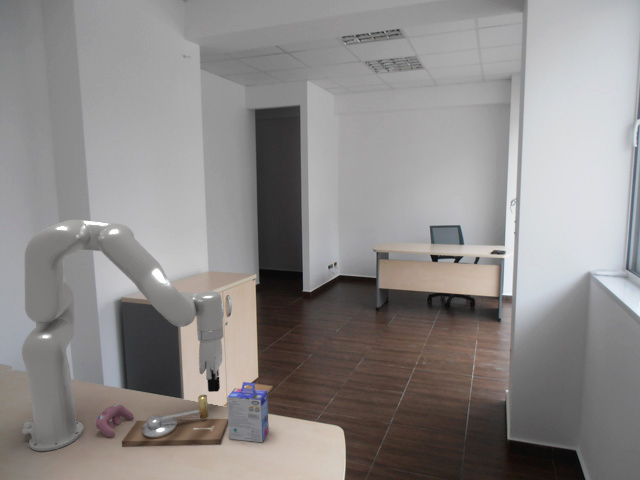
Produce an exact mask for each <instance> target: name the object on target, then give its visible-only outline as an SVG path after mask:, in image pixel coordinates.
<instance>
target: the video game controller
mask: <svg viewBox="0 0 640 480" xmlns="http://www.w3.org/2000/svg"><path fill="white" fill-rule="evenodd" d="M121 417H122V418H123V419H125V420H127V421H133V419H134V414H133V413H132V412H131V411H130V410H128V408H126V407H125V406H124V405H122V404H119V403H116V404H114V405H110V406H108V407H107V408H105V409H104V410H103V411H102V412H101V413H100V415H99V416H98V417H97V418H96V420H95V427H96V429H98V430H99V431H100V432H101V433H102V434H103V435H104V436H106V437H107V438H114V437H115V435H116V434H115V433H116V432H115V431H114V428H115V427H114V426H117V425H119V424H121V422H122V418H121ZM110 420H111V421H110Z"/></svg>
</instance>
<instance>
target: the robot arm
mask: <svg viewBox="0 0 640 480" xmlns="http://www.w3.org/2000/svg"><path fill="white" fill-rule="evenodd" d="M80 250H82V251H96V252H101V253H102V254H103V255H104V256H105V257H106V258H107V259H108V261H110V262H111V263H112V264H113V265H114V266H116V268H117V269H118V270H120V272H121V273H123V274H124V275H125V276H126V278H128V279H129V280H130V281H131V282H132V283H133V284H134V286H135V287H136V288H137V290H138V291H139V292H140V293H141V294H142V295H143V296H144V298H145V299H146V300H147V301H148V302H149V304H151V305H152V307H153V308H154V309H155V310H156V311H157V312H158V313H159V314H160V315H161V316H163V318H164V319H166V320H167V321H168V322H169V323H170V324H172V325H173V326H175V327H179V328H184V327H188V326H190V325H191V324H193V322H194V321H195V319H196V331H197V340H198V341H199V346H198V349H199V351H198V359H199V360H198V362H199V363H198V364H199V365H198V366H199V367H198V368H199V374H200V375H203V374H204V373H205V376H206V377H205V379H206V380H207V381H206V382H207V391H208V392H213V393H214V392H215V393H216V392H217V393H218V392H219V390H220V389H221V388H220V387H221V386H220V385H221V384H220V367H221V364H222V362H223V345H222V343H223V342H222V339H223V338H224V323H223V322H224V321H223V320H224V319H223V303H222V302H223V301H222V296H221V293H220V292H218V291H213V290H207V291H201V292H186V291H185V292H179V290H178V289H177V288H176V287H175V286H174V285H173V284H172V282H171V281H170V279H169V278H168V277H167V274H166V273H165V270H164V269H163V266H162V265H161V264H160V262H158V260H157V259H156V258H155V257H154V256H153V255H152V254H150V253H149V251H148V250H146V248H145V247H144V246H143V245H142V244H141V243H140V242H139V241H138V240H137V239H136V238H135V236H134V233H133V231H132V229H131V228H130V227H129V226H127V225H125V224H123V223H115V222H114V223H113V222H102V221H92V220H86V219H85V220H83V219H68V220H64V221H62V222H58V223H55V224H53V225H50V226H48V227H46V228H44V229H43V230H40V231H39V232H37V233H35V234H34V235H33V237H32V238H31V239H30V240H29V241H28V244H27V245H26V247H25V251H24V310H25V313H26V316H27V317H28V319H30V320H31V321H32V322H34V323H35V328H34V329H33V330H32V331H30V333H29V334H27V336H26V338H25V339H24V341H23V344H22V347H21V356H22V360H23V364H24V368H25V371H26V374H27V381H28V389H29V394H30V402H31V409H32V418H33V419H32V420H33V421H25V422H24V424H23V428H22V430H21V434H23V435H27V434H30V435H31V437H30V439H29V442H28V443H29V447H30V449H31V450H34V451H36V452H49V451H53V450H56V449H60V448H63V447H65V446H68V445H70V444H72V443H73V442H75V441H76V440H77V439H79V437H81V436H82V434H83V432H84V425H83V423H82V422H81V421H78V420H77V417H76V411H75V410H76V409H75V400H74V393H73V392H74V390H73V381H72V375H71V373H72V372H71V367H70V364H69V359H68V354H67V348H68V347H69V344H70V343H71V341H72V339H73V337H74V334H75V297H74V296H75V295H74V292H73V290H72V288H71V286H70V285H69V284H68V283H67V282H65V281H64V275H65V273H64V272H65V271H64V264H63V263H64V259H65V258H66V257H67V256H69V255H72V254H74V253H77V252H78V251H80Z"/></svg>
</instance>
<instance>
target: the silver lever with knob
mask: <svg viewBox="0 0 640 480" xmlns="http://www.w3.org/2000/svg"><path fill="white" fill-rule="evenodd" d="M197 401H198V403H197V404H198V409H196V410H190V411H185V412H180V413H175V414H170V415H153V416H150V417H148V419H146V420H147V422H146V423H145V424H144V425H143V427H142V434H143V436H145V437H147V438H160V437H164V436H166V435H169V434H170V433H172V432H173V431H174V430H175V429H176V427H177V421H178V420H186V419H191V418H197V417H199V419H208V417H209V409H208V408H209V406H208V395H207V394H201V395H199V396H198V397H197Z"/></svg>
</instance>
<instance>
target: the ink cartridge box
mask: <svg viewBox="0 0 640 480" xmlns="http://www.w3.org/2000/svg"><path fill="white" fill-rule="evenodd" d="M246 386H250V387H252V388H247V387H246ZM226 398H227V399H226V400H227V402H226V403H227V419H228V426H227V427H228V439H230V440H236V441H237V440H239V441H247V442H258V443H264V442H263V441H264V440H265V439H266V437H267V435H268V434H269V433H270V431H269V429H270V428H269V427H270V426H269V405H268V404H269V403H268V402H269V401H268V390H265V389H263V390H262V389H256V383H255V382H248V381H247V382H246V381H243V382H242V384H241V388H234V389H233V390H232V391H231V392H230V394H229V395H228V396H227V397H226Z"/></svg>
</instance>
